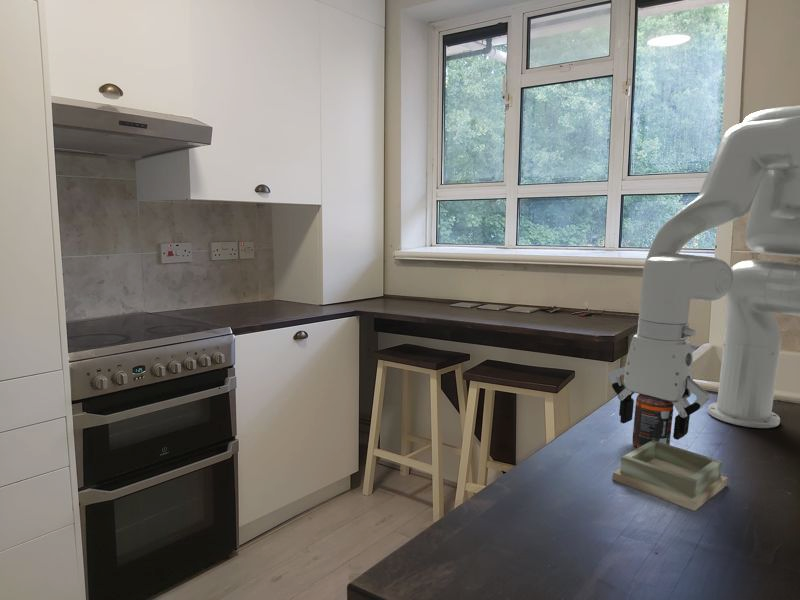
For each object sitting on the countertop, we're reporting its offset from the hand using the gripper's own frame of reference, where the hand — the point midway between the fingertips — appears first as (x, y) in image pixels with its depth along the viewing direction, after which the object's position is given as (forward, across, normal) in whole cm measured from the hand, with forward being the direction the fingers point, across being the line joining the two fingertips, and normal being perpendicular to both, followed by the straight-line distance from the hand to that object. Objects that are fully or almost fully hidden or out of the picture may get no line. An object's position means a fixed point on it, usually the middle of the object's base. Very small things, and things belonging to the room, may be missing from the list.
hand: (651, 429), depth 101 cm
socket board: (+3, -8, +11) cm, 14 cm away
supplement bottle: (+4, 0, 0) cm, 4 cm away
